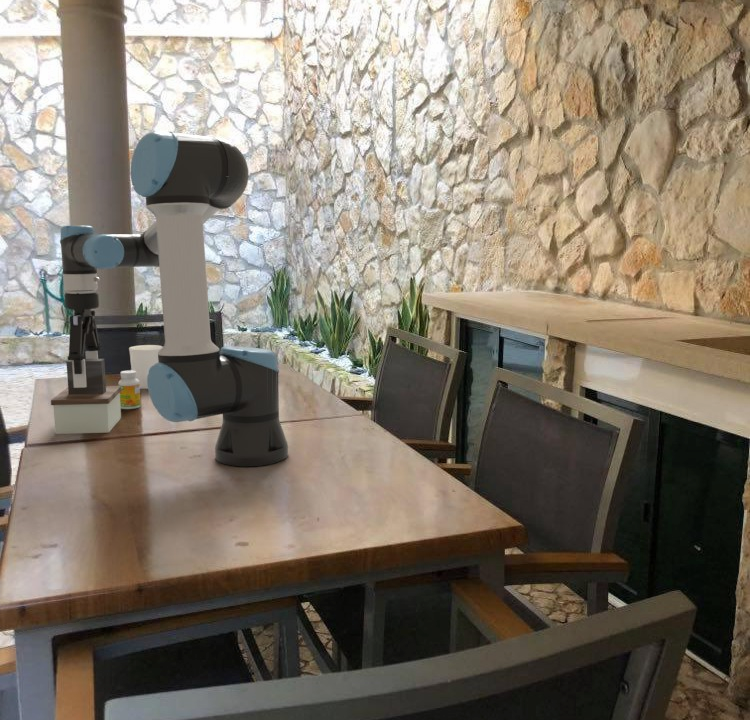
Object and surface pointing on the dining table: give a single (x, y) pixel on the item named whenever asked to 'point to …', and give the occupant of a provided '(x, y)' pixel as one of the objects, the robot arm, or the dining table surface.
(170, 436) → the dining table surface
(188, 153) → the robot arm
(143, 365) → the candle holder
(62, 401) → the walnut lid
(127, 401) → the supplement bottle
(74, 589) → the dining table surface
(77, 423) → the sage box
